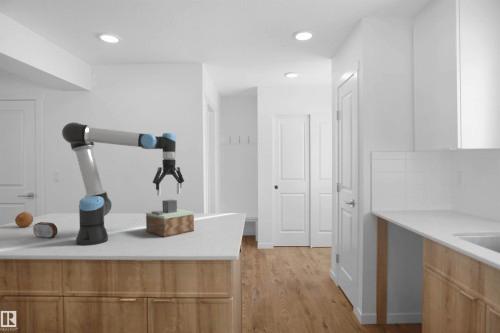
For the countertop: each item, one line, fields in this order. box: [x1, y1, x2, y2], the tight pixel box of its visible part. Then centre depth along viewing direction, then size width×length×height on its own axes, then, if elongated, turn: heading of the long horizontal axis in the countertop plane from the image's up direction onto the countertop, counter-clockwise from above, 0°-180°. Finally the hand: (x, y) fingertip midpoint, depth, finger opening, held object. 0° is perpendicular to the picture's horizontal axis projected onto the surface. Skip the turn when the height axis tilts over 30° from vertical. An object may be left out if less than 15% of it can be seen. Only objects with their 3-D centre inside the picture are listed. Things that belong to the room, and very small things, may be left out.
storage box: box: [145, 214, 195, 238], centre depth 186 cm, size 20×20×10 cm
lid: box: [145, 208, 195, 219], centre depth 186 cm, size 20×20×3 cm
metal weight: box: [162, 199, 178, 213], centre depth 186 cm, size 6×6×7 cm
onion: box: [14, 211, 34, 228], centre depth 205 cm, size 10×10×10 cm
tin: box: [32, 221, 58, 239], centre depth 176 cm, size 15×3×8 cm, turn 74°
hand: (168, 194), depth 186 cm, fingers open, 13 cm apart
